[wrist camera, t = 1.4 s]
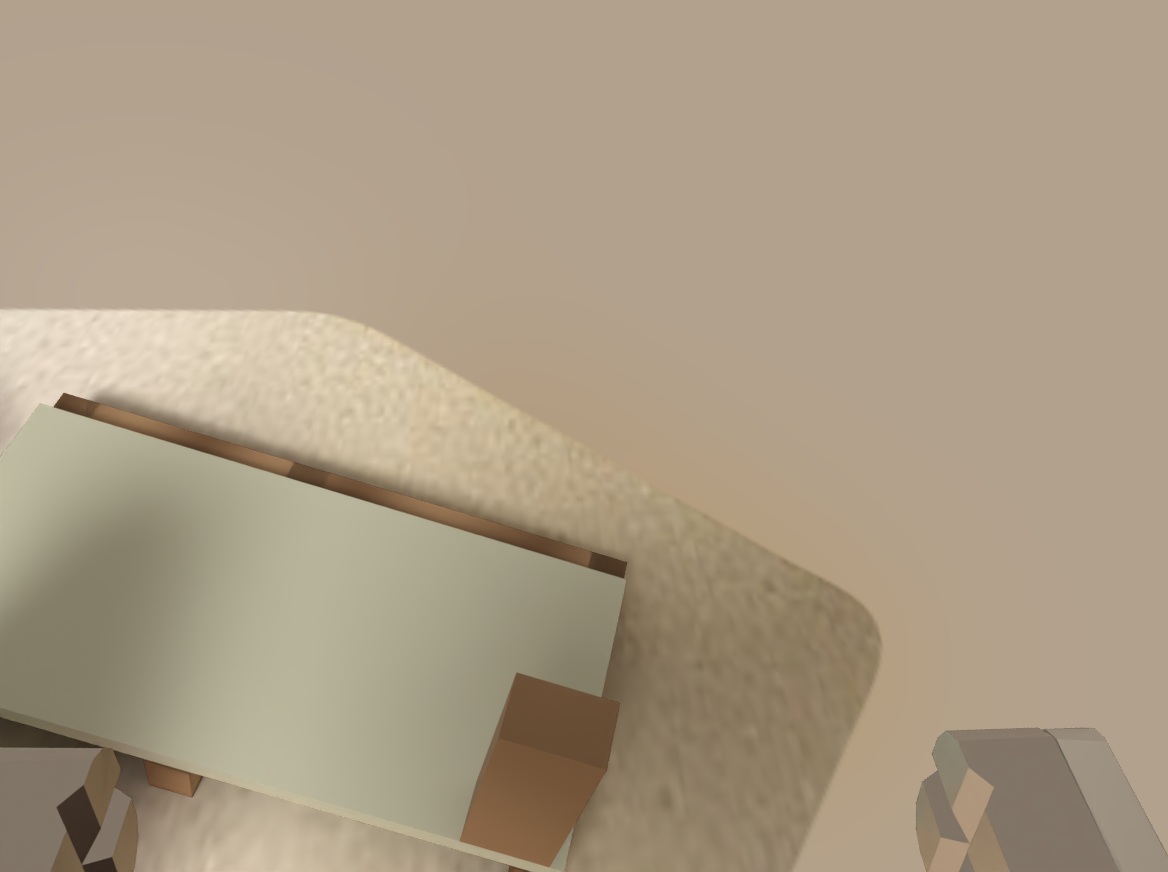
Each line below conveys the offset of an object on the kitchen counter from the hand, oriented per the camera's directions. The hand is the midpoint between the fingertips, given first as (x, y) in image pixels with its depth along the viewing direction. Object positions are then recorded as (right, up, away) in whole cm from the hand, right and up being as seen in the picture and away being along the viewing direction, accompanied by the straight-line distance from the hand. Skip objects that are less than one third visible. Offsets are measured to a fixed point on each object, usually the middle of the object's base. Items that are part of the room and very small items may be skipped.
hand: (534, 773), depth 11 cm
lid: (-10, -3, +28) cm, 30 cm away
